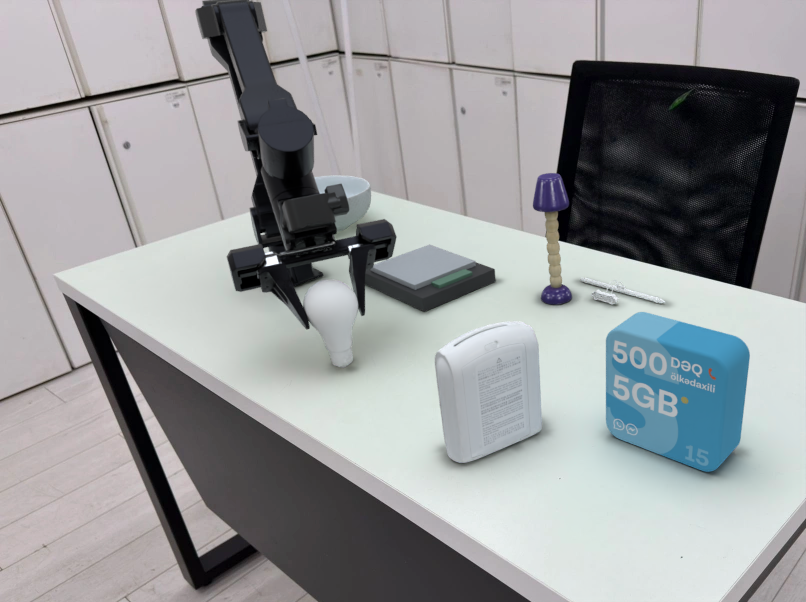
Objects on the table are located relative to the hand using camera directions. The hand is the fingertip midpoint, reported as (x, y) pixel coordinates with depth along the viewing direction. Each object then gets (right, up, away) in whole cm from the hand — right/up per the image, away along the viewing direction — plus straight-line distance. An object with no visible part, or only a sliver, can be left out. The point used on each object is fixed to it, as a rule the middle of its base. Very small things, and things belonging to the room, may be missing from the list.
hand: (335, 321), depth 84 cm
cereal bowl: (-13, +21, +50) cm, 56 cm away
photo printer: (+18, -13, -11) cm, 25 cm away
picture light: (+34, +4, +16) cm, 38 cm away
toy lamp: (+26, +5, +17) cm, 32 cm away
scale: (+8, +8, +25) cm, 27 cm away
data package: (+35, -13, -13) cm, 40 cm away
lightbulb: (0, -5, +5) cm, 7 cm away
